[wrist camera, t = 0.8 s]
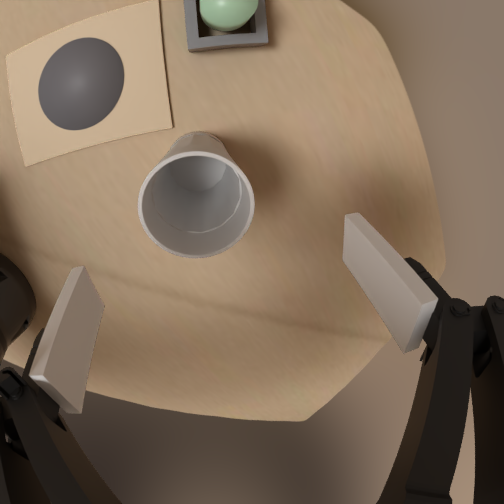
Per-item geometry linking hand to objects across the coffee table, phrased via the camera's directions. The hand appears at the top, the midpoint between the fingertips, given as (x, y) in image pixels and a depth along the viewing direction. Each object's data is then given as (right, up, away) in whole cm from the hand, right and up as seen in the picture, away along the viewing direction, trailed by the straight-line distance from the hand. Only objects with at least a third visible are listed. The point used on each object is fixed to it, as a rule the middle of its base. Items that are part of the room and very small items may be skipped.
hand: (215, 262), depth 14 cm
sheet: (-16, +17, +8) cm, 25 cm away
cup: (-4, +10, +16) cm, 19 cm away
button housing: (-1, +23, +8) cm, 24 cm away
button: (-1, +21, +5) cm, 22 cm away
